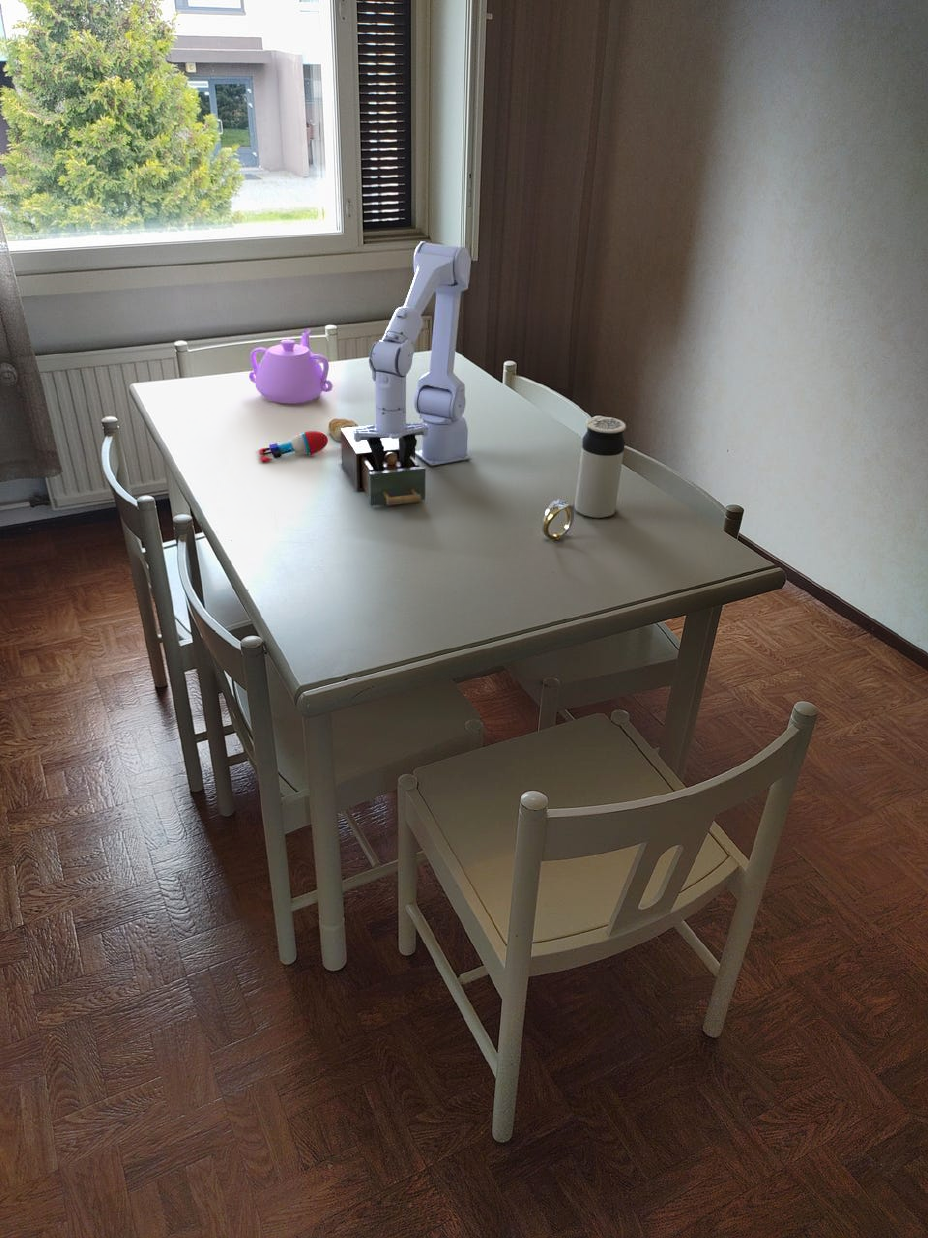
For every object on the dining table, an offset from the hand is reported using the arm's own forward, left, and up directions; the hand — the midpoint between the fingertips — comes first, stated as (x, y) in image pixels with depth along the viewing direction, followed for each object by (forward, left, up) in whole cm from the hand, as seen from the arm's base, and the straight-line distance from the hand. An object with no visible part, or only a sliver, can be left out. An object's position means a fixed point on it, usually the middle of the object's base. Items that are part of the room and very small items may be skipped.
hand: (391, 472), depth 179 cm
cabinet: (-2, -10, -5) cm, 12 cm away
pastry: (-4, -33, -5) cm, 34 cm away
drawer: (0, +1, -4) cm, 4 cm away
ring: (-20, +30, -5) cm, 36 cm away
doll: (0, 0, -1) cm, 1 cm away
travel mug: (-34, +23, -5) cm, 41 cm away
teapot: (-4, -64, -5) cm, 65 cm away
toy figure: (+10, -27, -5) cm, 30 cm away
